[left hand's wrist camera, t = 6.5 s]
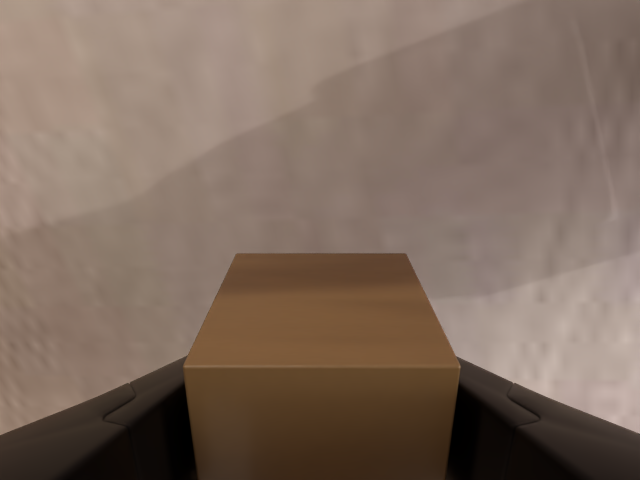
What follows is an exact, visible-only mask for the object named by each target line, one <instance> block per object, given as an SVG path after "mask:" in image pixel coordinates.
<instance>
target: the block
mask: <svg viewBox="0 0 640 480" xmlns="http://www.w3.org/2000/svg"><path fill="white" fill-rule="evenodd" d="M460 368H461V366H460V364H459V362H458V360H457V358H456V356H455V354H454V351H453V349H452V347H451V345H450V343H449V341H448V339H447V337H446V335H445V333H444V331H443V329H442V327H441V325H440V323H439V321H438V319H437V317H436V315H435V312H434V310H433V308H432V306H431V304H430V302H429V300H428V298H427V296H426V294H425V292H424V290H423V288H422V286H421V284H420V282H419V280H418V278H417V275H416V273H415V271H414V269H413V267H412V265H411V263H410V261H409V259H408V257H407V255H406V254H236V255H235V257H234V260H233V262H232V264H231V266H230V268H229V270H228V272H227V274H226V276H225V278H224V281H223V283H222V285H221V287H220V289H219V291H218V293H217V295H216V297H215V299H214V302H213V304H212V306H211V308H210V310H209V312H208V314H207V316H206V318H205V320H204V323H203V325H202V327H201V329H200V331H199V333H198V335H197V337H196V339H195V342H194V344H193V346H192V348H191V350H190V352H189V354H188V356H187V358H186V360H185V363H184V365H183V373H184V381H185V388H186V396H187V404H188V411H189V419H190V426H191V434H192V442H193V449H194V457H195V464H196V472H197V480H446V473H447V466H448V458H449V451H450V443H451V436H452V428H453V421H454V413H455V406H456V398H457V391H458V383H459V376H460Z"/></svg>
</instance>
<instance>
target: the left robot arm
mask: <svg viewBox="0 0 640 480" xmlns="http://www.w3.org/2000/svg"><path fill="white" fill-rule="evenodd" d="M186 358H187V356H186V357H183V358H181V359H179V360H177V361H175V362H173V363H171V364H168V365H166V366H164V367H162V368H160V369H158V370H156V371H153V372H151V373H149V374H147V375H145V376H143V377H141V378H138V379H136V380H134V381H132V382H130V383H127V384H124V385H122V386H120V387H118V388H116V389H114V390H111V391H109V392H107V393H105V394H102V395H100V396H98V397H95V398H93V399H90V400H88V401H86V402H83V403H81V404H78V405H76V406H73V407H71V408H68V409H66V410H63V411H61V412H58V413H55V414H53V415H50V416H48V417H45V418H43V419H40V420H38V421H35V422H33V423H30V424H28V425H25V426H23V427H20V428H17V429H15V430H12V431H10V432H7V433H5V434H2V435H0V480H197V472H196V464H195V457H194V449H193V442H192V434H191V426H190V419H189V411H188V404H187V396H186V388H185V381H184V373H183V365H184V363H185V360H186ZM456 358H457V360H458V362H459V364H460V366H461V368H460V376H459V383H458V391H457V398H456V406H455V413H454V421H453V428H452V436H451V443H450V451H449V458H448V466H447V473H446V480H640V434H639V433H636V432H634V431H631V430H629V429H626V428H624V427H621V426H618V425H616V424H613V423H611V422H608V421H606V420H603V419H601V418H598V417H595V416H593V415H590V414H588V413H585V412H583V411H580V410H578V409H575V408H573V407H570V406H567V405H565V404H562V403H560V402H558V401H555V400H553V399H550V398H548V397H545V396H543V395H541V394H538V393H536V392H534V391H532V390H529V389H527V388H525V387H523V386H521V385H518V384H516V383H514V384H513V382H511V381H508V380H506V379H504V378H502V377H500V376H498V375H496V374H493V373H491V372H489V371H487V370H485V369H483V368H480V367H478V366H476V365H474V364H472V363H470V362H467V361H465V360H463V359H461V358H459V357H457V356H456Z"/></svg>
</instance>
